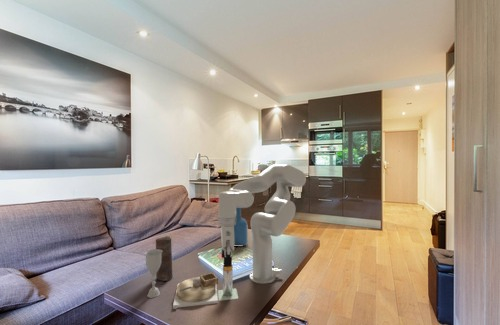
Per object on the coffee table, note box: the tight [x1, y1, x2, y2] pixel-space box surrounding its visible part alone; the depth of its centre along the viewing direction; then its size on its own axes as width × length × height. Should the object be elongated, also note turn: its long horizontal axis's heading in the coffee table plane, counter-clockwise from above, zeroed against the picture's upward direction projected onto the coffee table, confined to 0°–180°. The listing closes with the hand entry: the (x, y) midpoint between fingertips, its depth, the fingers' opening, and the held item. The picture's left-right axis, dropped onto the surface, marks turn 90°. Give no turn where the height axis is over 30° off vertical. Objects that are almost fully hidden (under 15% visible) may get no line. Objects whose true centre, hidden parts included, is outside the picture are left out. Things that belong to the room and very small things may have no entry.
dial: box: [176, 272, 219, 302], centre depth 101 cm, size 17×16×5 cm
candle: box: [155, 235, 173, 282], centre depth 115 cm, size 8×7×20 cm
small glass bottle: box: [222, 264, 234, 297], centre depth 100 cm, size 4×4×12 cm
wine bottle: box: [234, 208, 249, 246], centre depth 164 cm, size 14×13×30 cm
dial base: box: [172, 282, 219, 310], centre depth 101 cm, size 17×17×2 cm
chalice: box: [144, 248, 163, 299], centre depth 101 cm, size 7×7×18 cm
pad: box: [217, 287, 239, 302], centre depth 100 cm, size 8×8×1 cm
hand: (226, 261), depth 100 cm, fingers open, 9 cm apart
